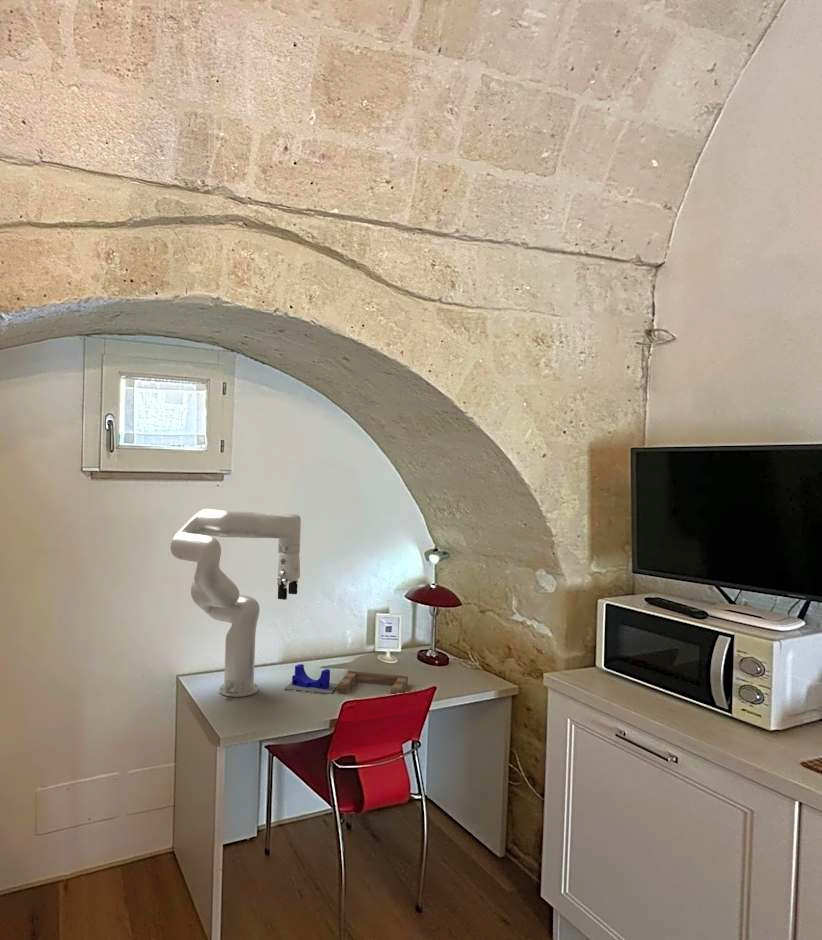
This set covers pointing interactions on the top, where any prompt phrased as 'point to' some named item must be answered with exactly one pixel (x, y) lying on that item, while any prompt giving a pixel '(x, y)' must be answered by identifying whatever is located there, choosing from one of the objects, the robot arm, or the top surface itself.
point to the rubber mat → (312, 689)
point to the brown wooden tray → (372, 681)
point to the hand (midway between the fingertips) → (287, 596)
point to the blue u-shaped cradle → (305, 681)
